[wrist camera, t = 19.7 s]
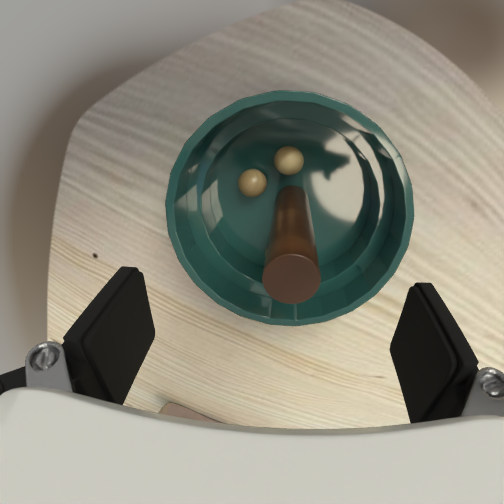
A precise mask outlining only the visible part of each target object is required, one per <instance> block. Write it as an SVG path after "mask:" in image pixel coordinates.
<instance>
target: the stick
mask: <svg viewBox="0 0 504 504" xmlns="http://www.w3.org/2000/svg"><path fill="white" fill-rule="evenodd" d="M262 282H263V286H264V288H265V290H266V292H267V293H268V294H269V295H270V296H271V297H272V298H273V299H275V300H277V301H279V302H282V303H286V304H297V303H301V302H304V301H306V300H308V299H310V298H311V297H312V296H313V295H314V294H315V293H316V292H317V290H318V288H319V286H320V282H321V275H320V268H319V261H318V254H317V248H316V242H315V235H314V229H313V223H312V217H311V212H310V206H309V200H308V196H307V194H306V192H305V191H304V190H303V189H302V188H300V187H298V186H295V185H289V186H285V187H283V188H282V189H281V190H280V191H279V192H278V193H277V195H276V199H275V205H274V211H273V217H272V223H271V229H270V235H269V241H268V246H267V252H266V258H265V264H264V269H263V275H262Z"/></svg>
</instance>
